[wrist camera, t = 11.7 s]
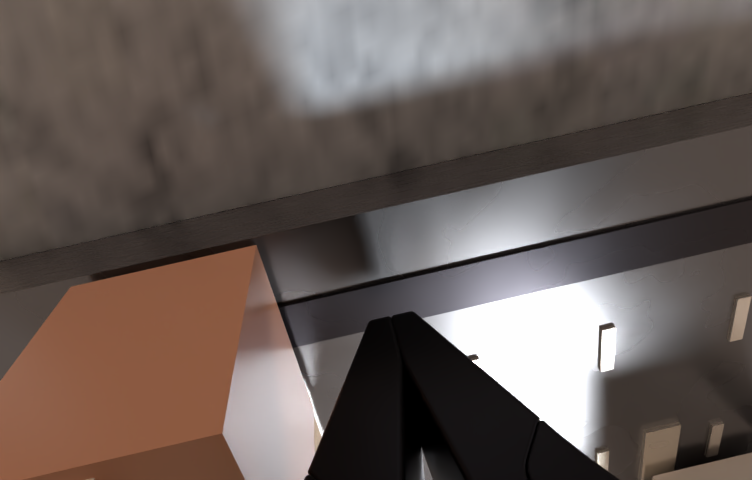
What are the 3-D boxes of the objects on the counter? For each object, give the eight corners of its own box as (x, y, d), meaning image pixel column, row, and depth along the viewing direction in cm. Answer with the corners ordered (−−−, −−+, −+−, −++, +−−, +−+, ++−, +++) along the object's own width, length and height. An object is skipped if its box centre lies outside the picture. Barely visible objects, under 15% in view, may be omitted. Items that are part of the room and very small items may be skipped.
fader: (256, 245, 9) (220, 444, 5) (313, 408, 11) (317, 639, 7) (70, 286, 9) (-104, 520, 5) (162, 443, 10) (86, 695, 7)
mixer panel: (857, 69, 10) (945, 84, 9) (750, 472, 17) (791, 518, 15) (-9, 263, 10) (-60, 311, 9) (213, 599, 16) (204, 660, 15)
